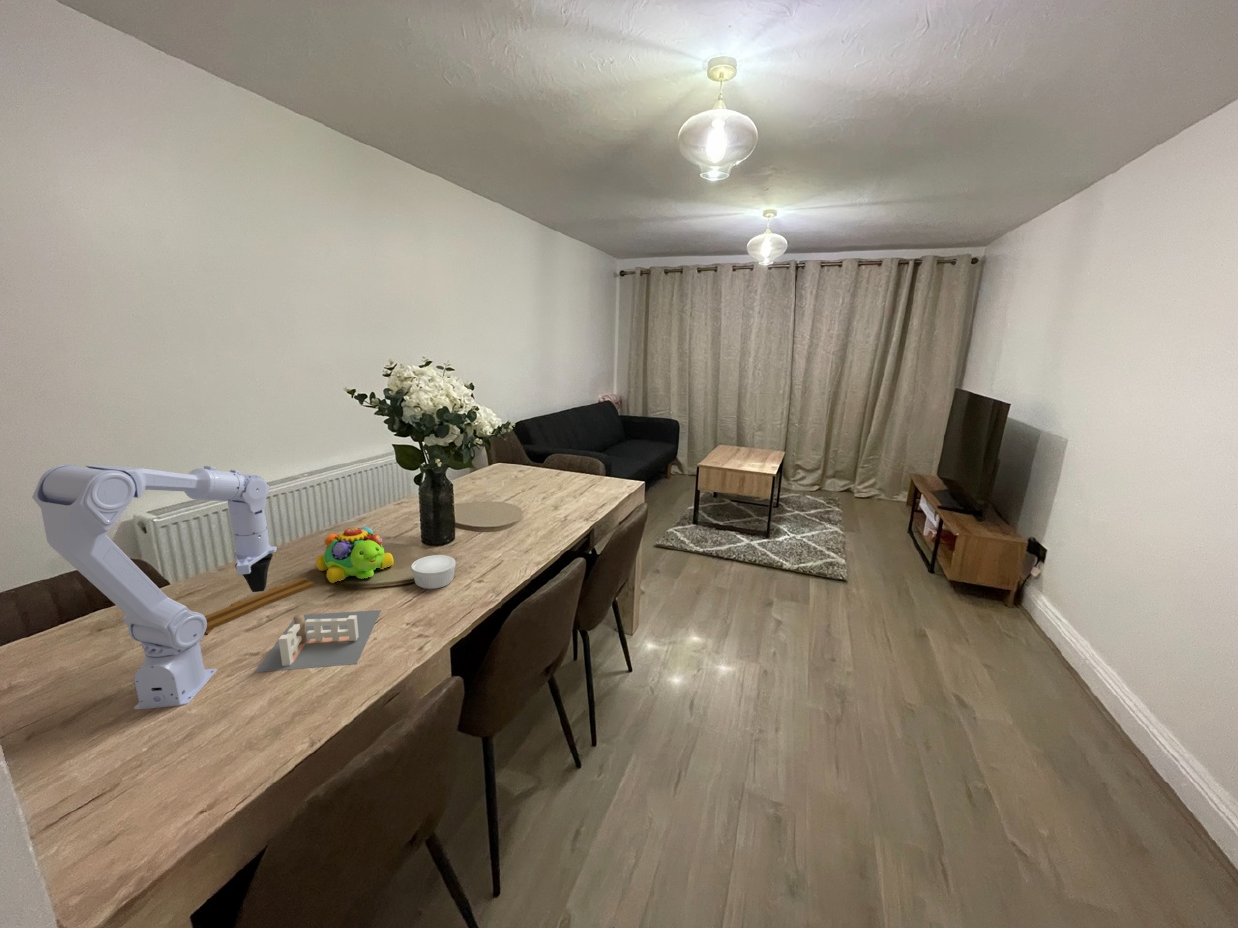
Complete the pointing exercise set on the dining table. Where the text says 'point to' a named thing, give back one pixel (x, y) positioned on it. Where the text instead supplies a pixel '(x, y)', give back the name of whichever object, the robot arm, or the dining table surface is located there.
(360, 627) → the card
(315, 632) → the fence gate
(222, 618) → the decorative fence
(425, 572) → the ramekin
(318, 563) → the turtle toy
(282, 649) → the fence fixed
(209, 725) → the dining table surface
